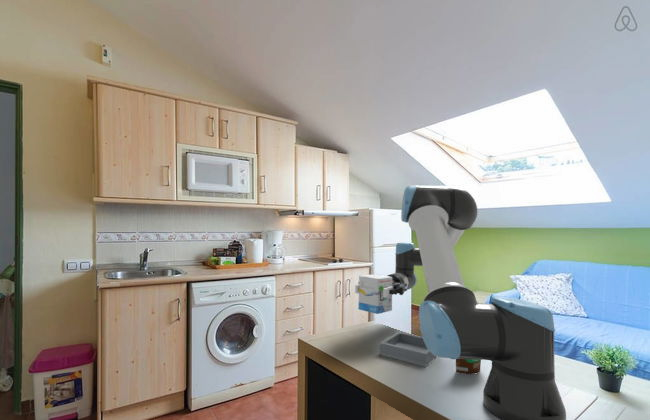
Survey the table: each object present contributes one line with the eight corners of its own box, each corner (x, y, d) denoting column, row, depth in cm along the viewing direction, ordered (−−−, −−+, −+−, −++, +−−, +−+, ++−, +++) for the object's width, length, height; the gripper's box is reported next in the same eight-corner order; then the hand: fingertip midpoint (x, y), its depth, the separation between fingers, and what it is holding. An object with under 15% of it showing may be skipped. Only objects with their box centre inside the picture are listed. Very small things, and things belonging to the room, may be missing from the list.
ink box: (377, 314, 107) (377, 278, 107) (357, 309, 113) (358, 275, 113) (392, 310, 112) (393, 276, 113) (373, 306, 119) (373, 273, 119)
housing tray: (426, 366, 92) (426, 354, 92) (379, 354, 100) (379, 342, 100) (440, 351, 103) (440, 340, 104) (397, 342, 112) (397, 331, 112)
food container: (479, 380, 84) (479, 341, 84) (454, 374, 87) (454, 335, 88) (489, 365, 94) (488, 330, 94) (466, 360, 97) (466, 325, 98)
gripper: (423, 296, 121) (401, 307, 103) (369, 289, 134) (341, 298, 115) (423, 276, 122) (401, 283, 103) (369, 271, 134) (341, 276, 116)
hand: (369, 291), depth 109 cm, fingers closed on ink box, 10 cm apart
